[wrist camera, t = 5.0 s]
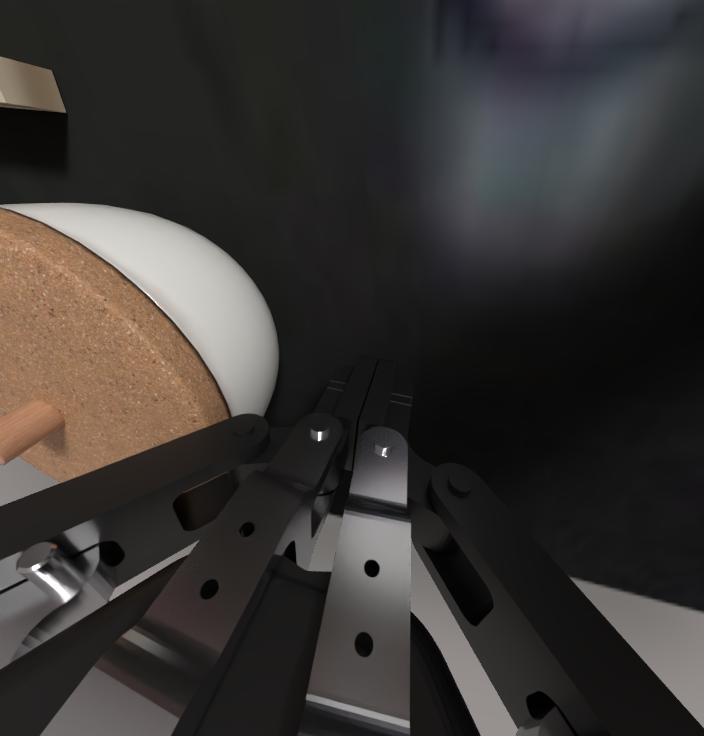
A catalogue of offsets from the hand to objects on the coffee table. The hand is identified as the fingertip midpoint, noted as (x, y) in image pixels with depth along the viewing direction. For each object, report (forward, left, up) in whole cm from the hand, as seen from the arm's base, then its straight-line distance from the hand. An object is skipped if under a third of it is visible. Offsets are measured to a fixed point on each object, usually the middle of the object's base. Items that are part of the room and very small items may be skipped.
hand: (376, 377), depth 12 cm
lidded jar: (+9, 0, -3) cm, 9 cm away
